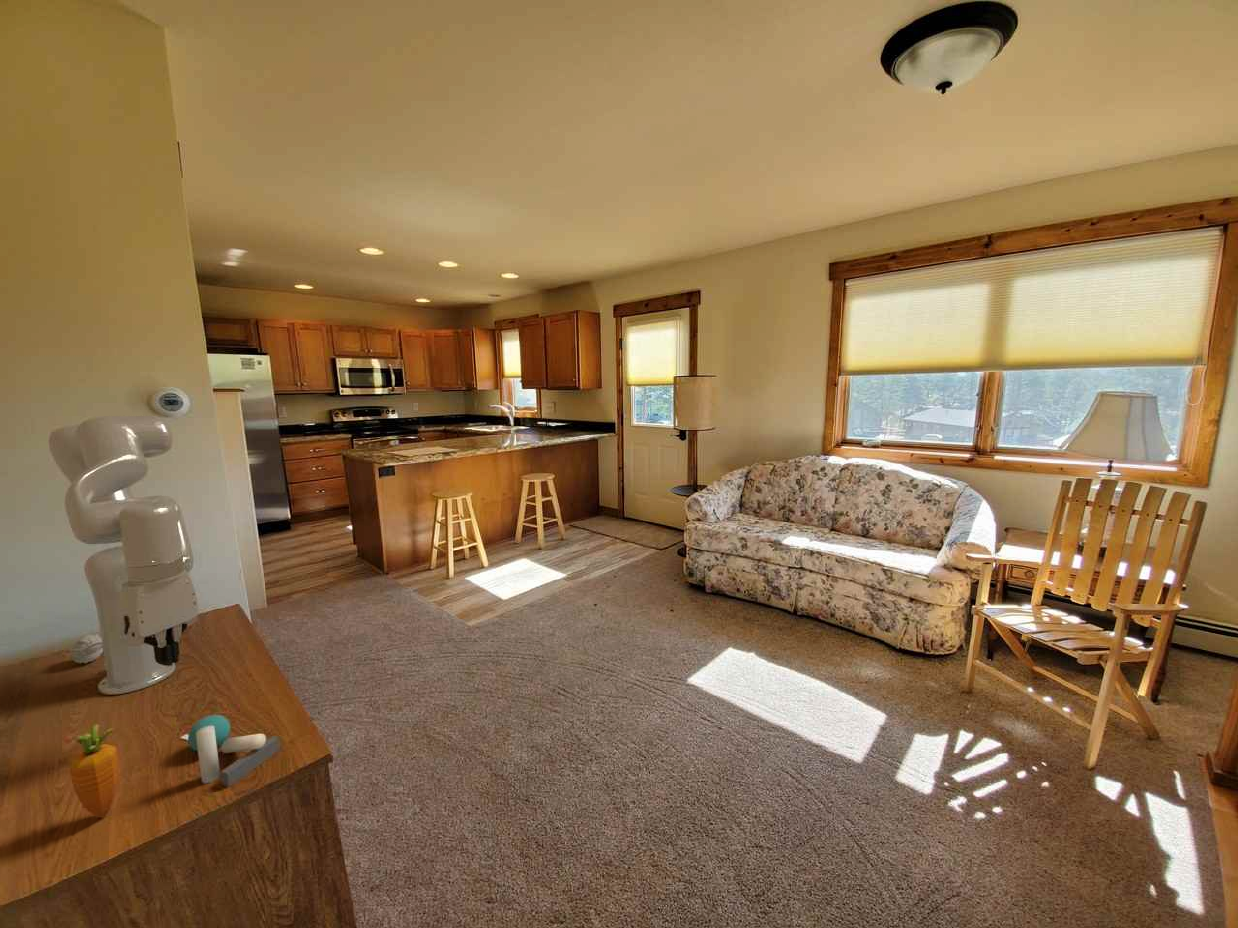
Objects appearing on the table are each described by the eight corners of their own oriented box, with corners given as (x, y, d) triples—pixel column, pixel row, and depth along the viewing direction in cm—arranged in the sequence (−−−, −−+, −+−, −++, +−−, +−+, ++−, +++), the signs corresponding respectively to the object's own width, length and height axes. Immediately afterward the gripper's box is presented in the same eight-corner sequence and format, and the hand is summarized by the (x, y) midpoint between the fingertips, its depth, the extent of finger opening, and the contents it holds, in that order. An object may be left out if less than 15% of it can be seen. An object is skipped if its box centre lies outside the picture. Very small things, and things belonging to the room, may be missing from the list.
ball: (206, 751, 85) (195, 764, 87) (242, 727, 91) (230, 740, 93) (186, 724, 86) (175, 738, 88) (223, 702, 91) (212, 716, 93)
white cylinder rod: (198, 781, 82) (192, 733, 81) (213, 770, 84) (207, 724, 83) (208, 784, 81) (202, 736, 80) (223, 774, 84) (217, 727, 82)
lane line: (180, 738, 92) (180, 737, 92) (186, 734, 93) (186, 733, 93) (213, 748, 89) (213, 747, 89) (219, 744, 90) (219, 743, 90)
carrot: (101, 804, 77) (87, 719, 75) (134, 802, 78) (122, 717, 75) (69, 832, 72) (53, 742, 70) (105, 830, 73) (90, 740, 71)
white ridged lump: (82, 671, 114) (77, 643, 113) (63, 666, 116) (58, 639, 115) (114, 658, 120) (110, 631, 119) (96, 653, 122) (92, 627, 121)
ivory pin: (218, 744, 88) (249, 740, 84) (232, 735, 90) (262, 730, 87) (224, 756, 88) (254, 752, 85) (237, 746, 90) (268, 742, 87)
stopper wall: (222, 784, 81) (220, 771, 81) (274, 747, 90) (272, 735, 89) (228, 786, 81) (227, 773, 80) (280, 749, 89) (278, 737, 89)
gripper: (188, 555, 96) (198, 640, 99) (88, 582, 82) (103, 681, 85) (214, 559, 94) (224, 646, 97) (117, 588, 80) (132, 689, 83)
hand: (168, 662), depth 91 cm, fingers closed
